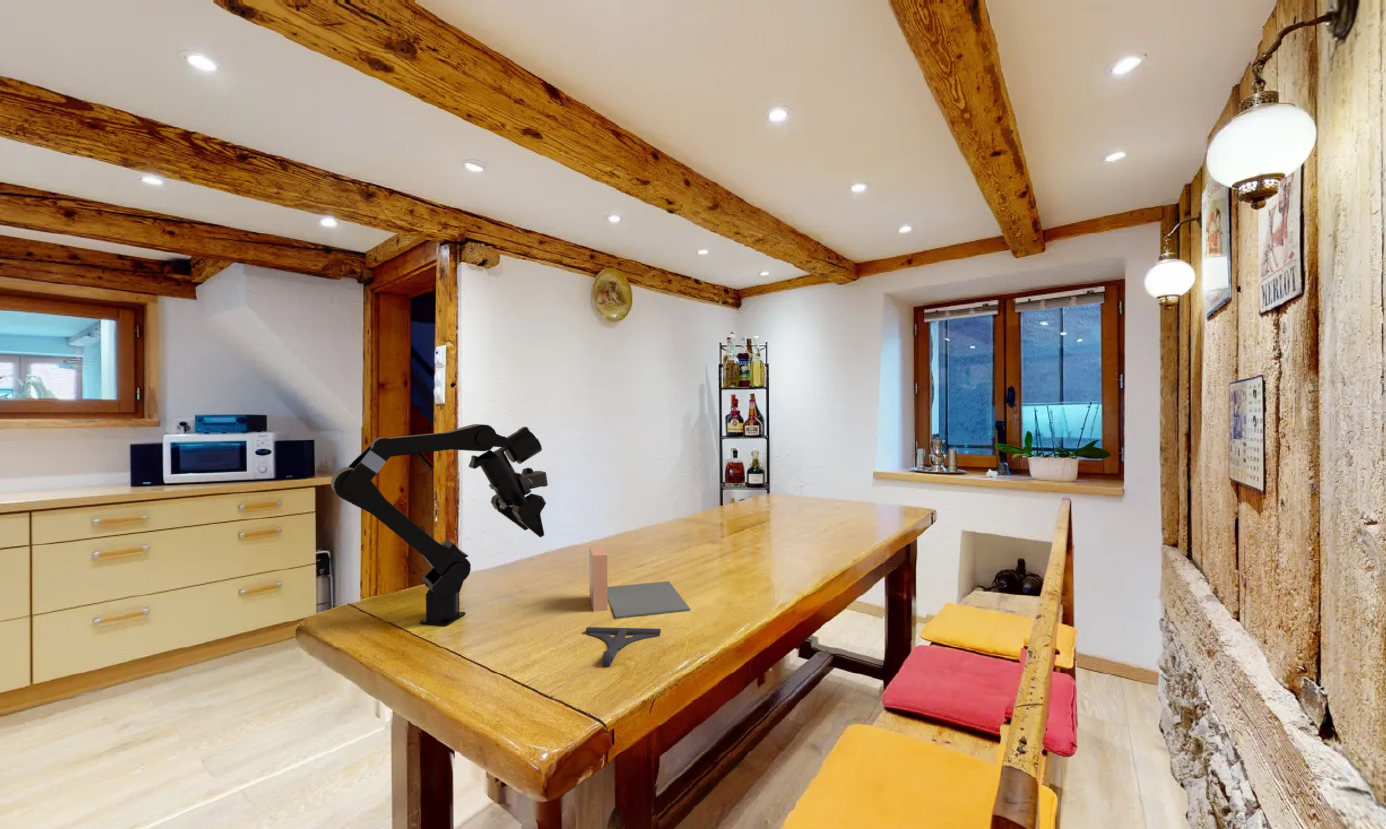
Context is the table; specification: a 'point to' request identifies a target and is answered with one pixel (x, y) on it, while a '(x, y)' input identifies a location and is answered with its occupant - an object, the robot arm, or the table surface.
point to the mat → (645, 599)
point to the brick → (598, 578)
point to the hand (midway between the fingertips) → (534, 532)
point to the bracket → (619, 639)
